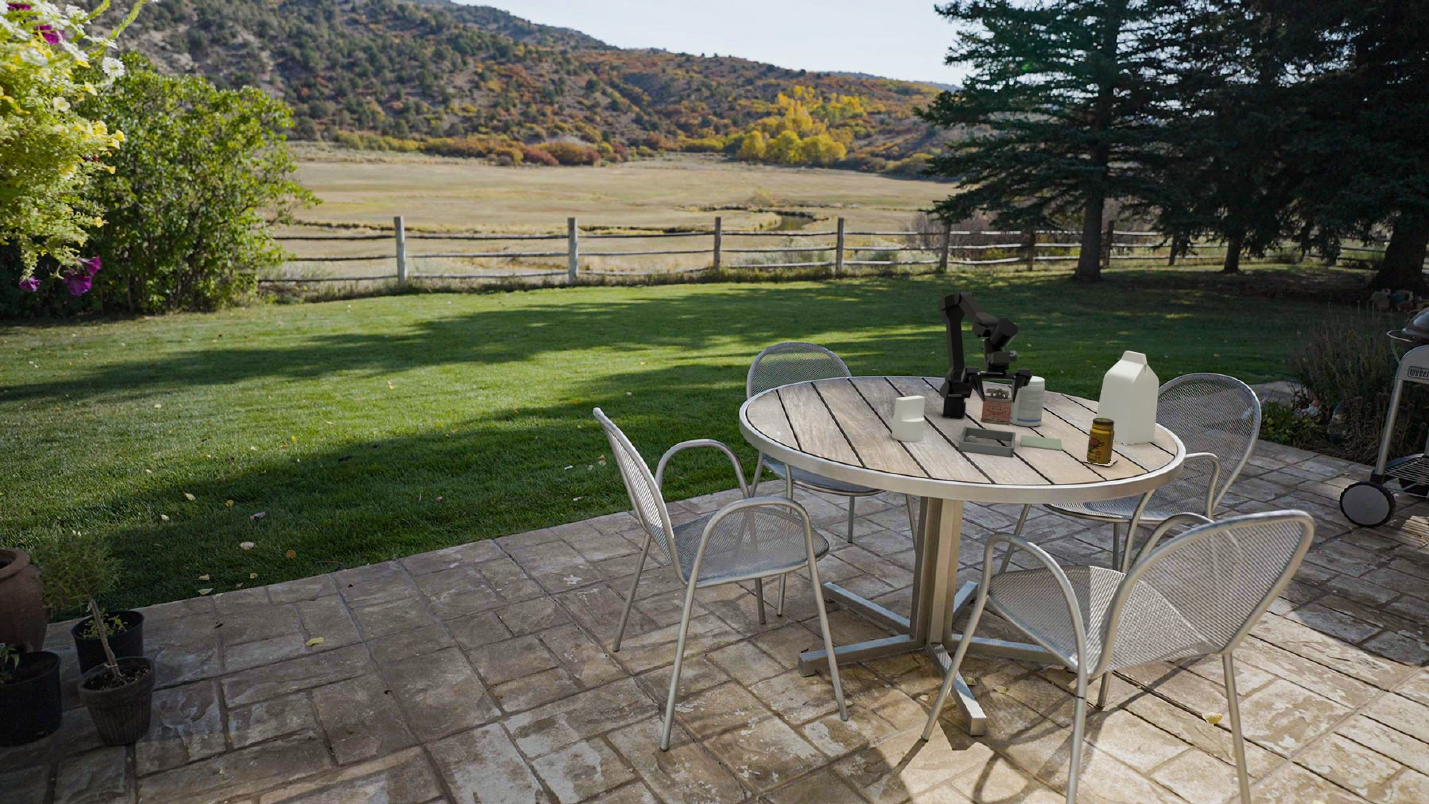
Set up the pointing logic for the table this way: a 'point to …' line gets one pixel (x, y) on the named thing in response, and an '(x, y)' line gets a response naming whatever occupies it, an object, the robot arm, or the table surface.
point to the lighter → (996, 407)
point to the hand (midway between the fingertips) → (998, 401)
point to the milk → (1130, 399)
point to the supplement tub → (1029, 404)
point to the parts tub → (984, 447)
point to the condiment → (1101, 441)
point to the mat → (1041, 442)
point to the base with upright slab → (909, 418)
